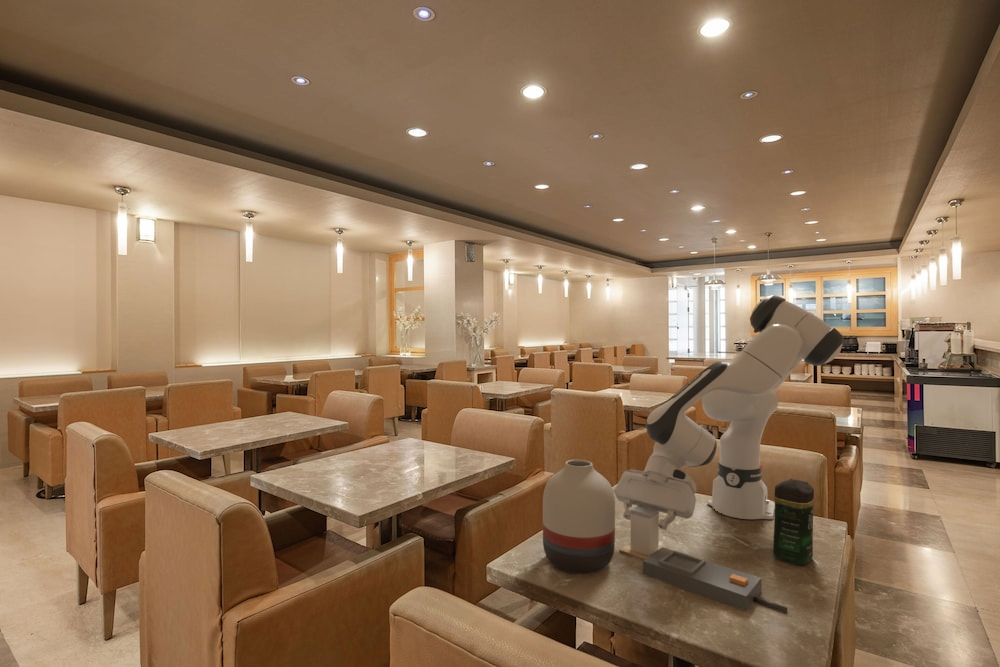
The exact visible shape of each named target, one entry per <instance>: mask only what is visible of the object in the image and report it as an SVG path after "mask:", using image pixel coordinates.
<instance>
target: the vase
mask: <svg viewBox="0 0 1000 667" xmlns="http://www.w3.org/2000/svg"><path fill="white" fill-rule="evenodd" d="M542 496H543V498H542V544H543V551H544V553H545V556H546V558H547V561H549V563H550V564H552V565H553V566H554V567H556V568H557V569H559V570H562V571H565V572H567V573H572V574H581V575H582V574H583V575H585V574H594V573H597V572H600V571H602V570H604V569H605V568H606V567H608V566H609V564H610V563H611V561H612V559H613V556H614V553H615V545H616V544H615V543H616V542H615V541H616V499H615V498H616V496H615V493H614V490H613V487H612V485H611V483H610V482H609V481H608V480H607V479H606V478H605V476H603V475H602V474H601V473H599V472H598V471H597V470H596V469H595V468H594V465H593V463H592V462H591V461H589V460H584V459H571V460H570V459H569V460H566V462H565V464H564V467H563V468H562V469H560V470H558V471H557V472H556V473H554V474H553V475H552V476H551V477H550V478H549V479H548V481H547V482H546V484H545V487H544V490H543V495H542Z"/></svg>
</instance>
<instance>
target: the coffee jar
mask: <svg viewBox="0 0 1000 667" xmlns="http://www.w3.org/2000/svg"><path fill="white" fill-rule="evenodd" d="M814 491H815V489H814V487H813V486H812V485H811V484H810V483H809V482H807V481H803V480H798V479H793V478H790V479H788V480H784V481H781V482H779V483H778V484H776V485H775V486H774V496H773V498H774V502H775V511H774V518H773V519H774V521H773V524H774V525H773V526H774V527H773V544H772V545H773V547H772V553H773V556H774V557H775V558H777V559H778V560H781V561H782V562H784V563H787V564H791V565H800V566H805V565H807V564H808V563H810V562H811V560H812V559H813V557H814V556H813V555H814V538H813V537H814V528H813V527H814V507H815V506H814V504H815V494H814V493H815V492H814Z"/></svg>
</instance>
